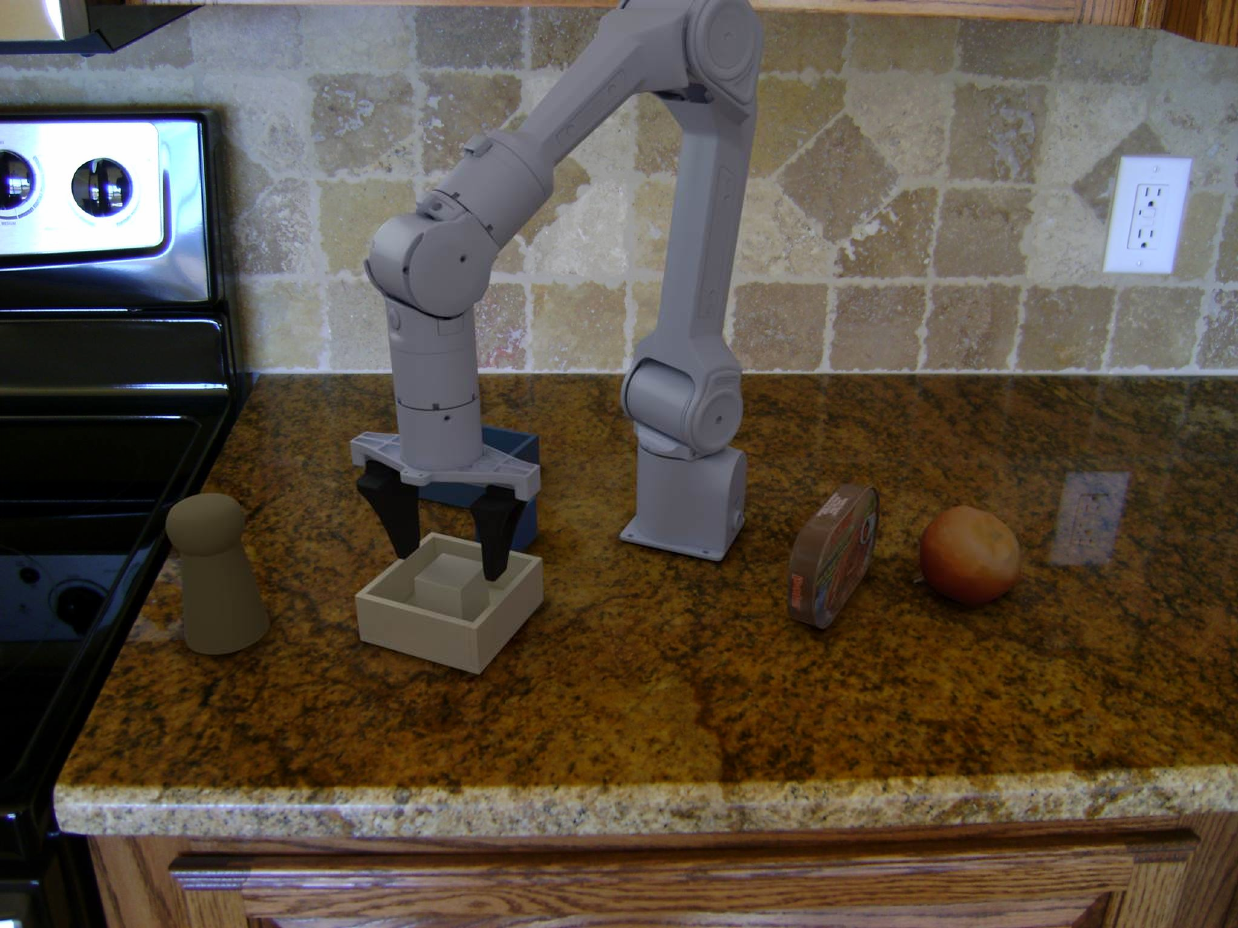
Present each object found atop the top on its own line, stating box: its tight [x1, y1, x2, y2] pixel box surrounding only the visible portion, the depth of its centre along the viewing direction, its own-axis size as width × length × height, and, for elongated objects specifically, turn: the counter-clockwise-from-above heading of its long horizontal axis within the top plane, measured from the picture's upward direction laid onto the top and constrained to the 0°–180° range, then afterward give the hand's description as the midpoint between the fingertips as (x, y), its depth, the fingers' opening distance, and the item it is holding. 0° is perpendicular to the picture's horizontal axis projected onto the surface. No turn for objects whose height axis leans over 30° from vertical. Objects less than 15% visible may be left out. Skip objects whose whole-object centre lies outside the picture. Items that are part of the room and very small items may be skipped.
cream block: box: [414, 553, 490, 622], centre depth 71 cm, size 4×4×4 cm
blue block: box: [474, 496, 538, 553], centre depth 82 cm, size 4×4×4 cm
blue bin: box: [418, 423, 541, 510], centre depth 93 cm, size 10×10×4 cm
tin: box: [786, 482, 881, 630], centre depth 74 cm, size 15×3×8 cm, turn 148°
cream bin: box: [354, 531, 545, 676], centre depth 71 cm, size 10×10×4 cm
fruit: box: [913, 504, 1022, 607], centre depth 76 cm, size 8×8×8 cm
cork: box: [165, 492, 271, 656], centre depth 68 cm, size 6×6×11 cm
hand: (451, 563), depth 70 cm, fingers open, 7 cm apart
